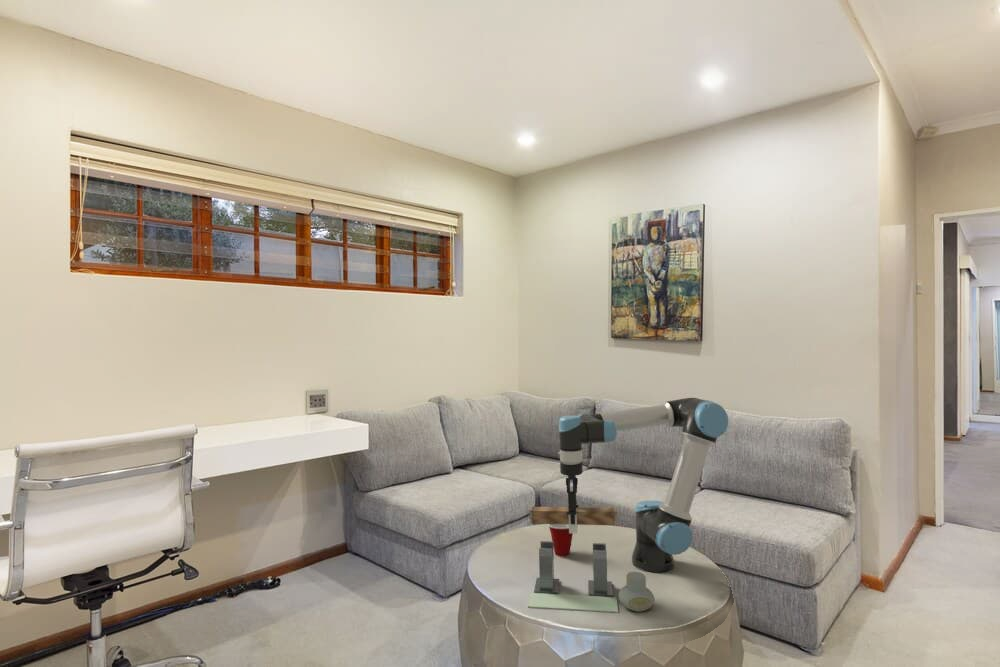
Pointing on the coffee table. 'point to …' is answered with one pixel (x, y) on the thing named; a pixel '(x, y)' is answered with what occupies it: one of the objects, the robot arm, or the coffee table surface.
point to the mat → (573, 602)
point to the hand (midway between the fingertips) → (573, 530)
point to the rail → (583, 515)
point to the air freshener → (636, 593)
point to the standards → (551, 585)
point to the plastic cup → (561, 538)
